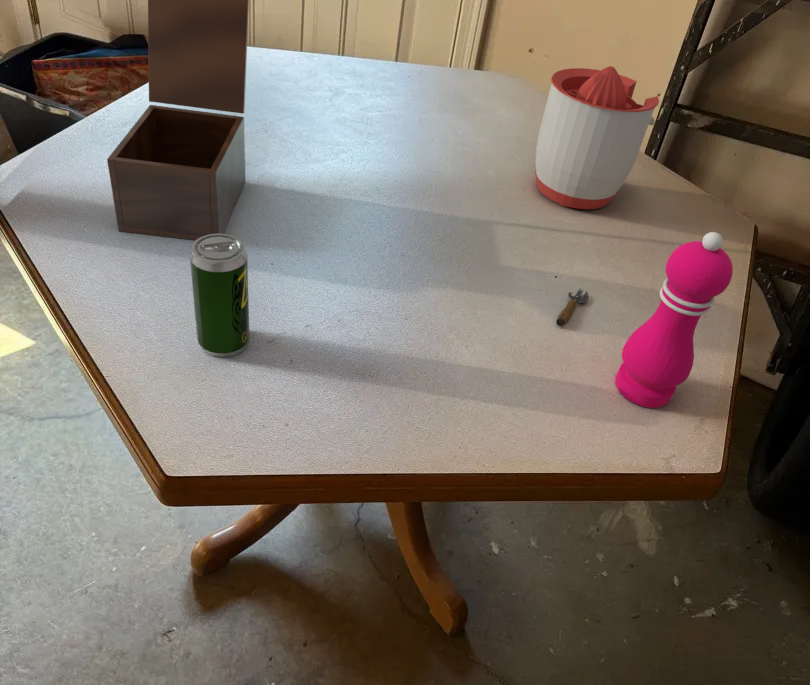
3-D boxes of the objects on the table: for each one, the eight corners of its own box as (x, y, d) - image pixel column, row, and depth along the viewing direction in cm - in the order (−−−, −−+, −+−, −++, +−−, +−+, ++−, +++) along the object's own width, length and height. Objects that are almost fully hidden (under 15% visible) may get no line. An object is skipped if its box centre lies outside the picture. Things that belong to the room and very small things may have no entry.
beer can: (199, 361, 72) (190, 264, 65) (196, 328, 76) (187, 233, 69) (252, 356, 74) (250, 261, 66) (246, 324, 78) (244, 231, 70)
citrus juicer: (649, 215, 109) (700, 88, 97) (551, 221, 104) (591, 87, 91) (599, 168, 120) (639, 48, 108) (508, 171, 115) (538, 45, 102)
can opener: (562, 328, 84) (564, 321, 83) (545, 320, 85) (547, 312, 84) (592, 296, 90) (594, 289, 89) (575, 288, 91) (578, 281, 90)
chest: (219, 243, 89) (215, 172, 83) (118, 231, 88) (106, 159, 82) (245, 181, 102) (244, 116, 96) (157, 171, 101) (150, 104, 95)
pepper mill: (617, 407, 75) (689, 249, 62) (604, 362, 80) (668, 209, 68) (683, 415, 75) (768, 259, 62) (666, 370, 81) (741, 218, 68)
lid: (248, -31, 88) (250, -30, 89) (147, -45, 88) (149, -44, 88) (243, 113, 95) (244, 113, 96) (148, 101, 94) (150, 101, 95)
